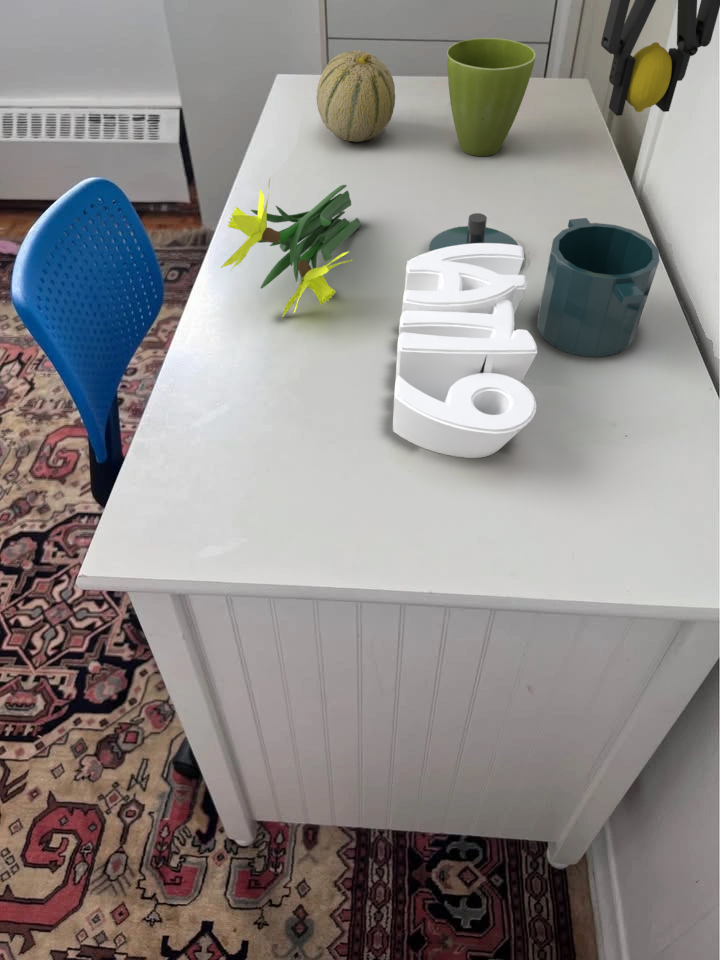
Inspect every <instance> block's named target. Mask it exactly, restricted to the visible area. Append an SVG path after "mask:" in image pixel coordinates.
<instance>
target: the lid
mask: <svg viewBox="0 0 720 960" xmlns="http://www.w3.org/2000/svg"><path fill="white" fill-rule="evenodd" d="M487 221H488V217H487V215H486V214H484V213H478V212H477V213H471V214H470V215H469V216H468V221H467V225H465V226H457V227H452V228H449V229H446V230H443V231H442V232H439V233H438V234H436V235H435V236H434V237H433V238H432V239H431V241H430V242H429V245H428V252H430V251H433V250H436V249H440V248H444V247H449V246H455V245H463V244H474V243H499V244H511V245H518V246H520V245H519V244H518V242H517V241H516V240H515V239H514V238H513V237H512V236H510V235H509V234H507V233H505V232H503V231H501V230H498V229H495V228H490V227H487Z"/></svg>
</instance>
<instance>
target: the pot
mask: <svg viewBox="0 0 720 960" xmlns="http://www.w3.org/2000/svg"><path fill="white" fill-rule="evenodd" d="M659 264H660V250H659V249H658V247H657V246H656V245H655V243H654V242H653V241H652V240H651V239H650V238H649V237H646V236H645V235H643V234H641V233H640V232H638V231H636V230H634V229H631V228H628V227H624V226H620V225H616V224H609V223H600V222H592V223H591V221H590V220H589V219H588V218H587V217H582V218H571V219H569V220H568V223H567V228H565V229H562V230H561V231H560V232H559V233H558V234H556V236H555V237H554V238H553V239H552V243H551V248H550V252H549V258H548V264H547V268H546V274H545V278H544V283H543V289H542V294H541V298H540V304H539V308H538V309H539V310H538V315H537V322H536V323H537V329H538V332H539V334H540V335H541V337H542V338H543V339H544V340H545V341H546V342H547V343H548V344H550V345H551V346H553V347H555V348H556V349H558V350H560V351H563V352H565V353H568V354H571V355H575V356H581V357H589V358H590V357H592V358H598V357H600V358H601V357H609V356H613V355H615V354H617V353H620V352H623V350H625V349H627V348H628V347H629V346H630V344H632V342H633V340H634V338H635V336H636V334H637V331H638V327H639V325H640V323H641V319H642V316H643V313H644V310H645V306H646V303H647V300H648V297H649V294H650V290H651V287H652V285H653V281H654V278H655V276H656V272H657V270H658V266H659Z"/></svg>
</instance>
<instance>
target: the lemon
mask: <svg viewBox="0 0 720 960" xmlns="http://www.w3.org/2000/svg"><path fill="white" fill-rule="evenodd" d="M668 52H669V51H668V50H667V49H666V48H664V47H663V46H661V45H660V43H659V42H652V43H651V44H649V45H647V46H644V47H642V48H640V49H639V50H638V51H637V52H636V53H635V54H634V55H632V56H633V57H634V58H635V59H636V60H635V64H634V68H633V72H632V76H631V81H630V85H629V89H628V93H627V97H626V102H627V104H628V105H630V106H631V107H633V108H634V110H635V112H637V113H642V112H644V110H645V109H648V108H650V107H651V108H652V106H653V107H654V105H655V104H656V103H657V102H658V101H659V100H660V99H661V98H662V97H663V96H664V94H665V92H666V90H667V88H668V86H669V83H670V78H671V72H672V61H671V57H670V55H669V53H668ZM655 106H656V105H655Z"/></svg>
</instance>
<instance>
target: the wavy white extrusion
mask: <svg viewBox="0 0 720 960" xmlns="http://www.w3.org/2000/svg"><path fill="white" fill-rule="evenodd" d="M518 245H519V244H518ZM518 245H511V244H499V243H474V244H463V245H455V246H449V247H444V248H440V249H436V250H433V251H430V252H429V251H426V252H424V253H421V254H419V255H416V256H415V257H412V258H410V259H409V260H406V267H405V280H404V292H403V295H402V306H401V313H400V317H399V326H398V338H397V345H396V365H395V384H394V395H393V397H394V398H393V414H392V432H393V433H395V434H396V435H398V436H399V437H400V438H402V439H404V440H406V441H408V442H409V443H411V444H413V445H415V446H417V447H420V448H422V449H425V450H428V451H430V452H433V453H438V454H442V455H446V456H450V457H457V458H465V459H481V458H485V457H488V456H491V455H493V454H495V453H497V452H499V450H501V449H502V448H503V447H504V446H505V445H506V444H507V443H508V442H509V441H511V440H512V439H513V438H514V437H515V436H516V435H517V434H518V433H519V432H520V431H521V430H523V429H524V428H525V427H526V426H527V425H528V424H529V423H530V422H531V421H532V420H533V418H534V416H535V414H536V412H537V402H536V398H535V395H534V394H533V392H532V391H531V390H530V389H529V387H527V386H526V385H524V384H523V383H522V382H523V379H525V377H526V374H527V372H528V371H529V369H530V367H531V365H532V363H533V362H534V360H535V358H536V356H537V354H538V345H537V343H536V341H535V339H534V337H533V335H532V334H531V333H530V332H529V331H528V330H527V329H522V328H521V329H519V328H518V329H516V330H515V314H516V312H517V309H518V307H519V304H520V303H521V300H522V297H523V295H524V292H525V290H526V288H527V278H526V276H525V275H524V274H520V270H521V267H522V265H523V263H524V259H525V258H524V257H525V253H524V252H525V251H524V247H523V246H521V245H519V246H518Z"/></svg>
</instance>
